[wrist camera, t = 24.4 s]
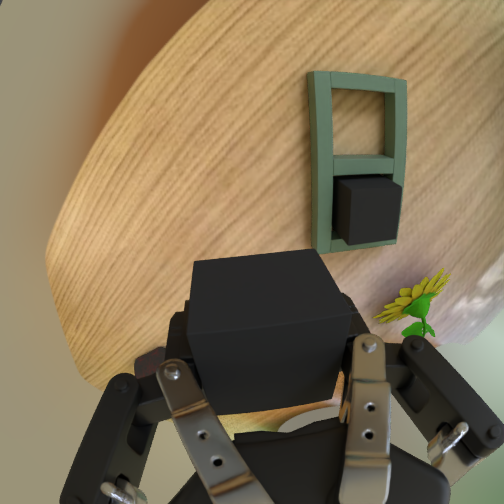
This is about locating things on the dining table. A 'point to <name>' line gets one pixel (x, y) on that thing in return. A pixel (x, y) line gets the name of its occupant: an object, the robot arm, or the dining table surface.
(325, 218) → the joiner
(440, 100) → the dining table surface
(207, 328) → the black block
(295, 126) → the dining table surface
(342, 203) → the black near-cubic block
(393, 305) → the flower
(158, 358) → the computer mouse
